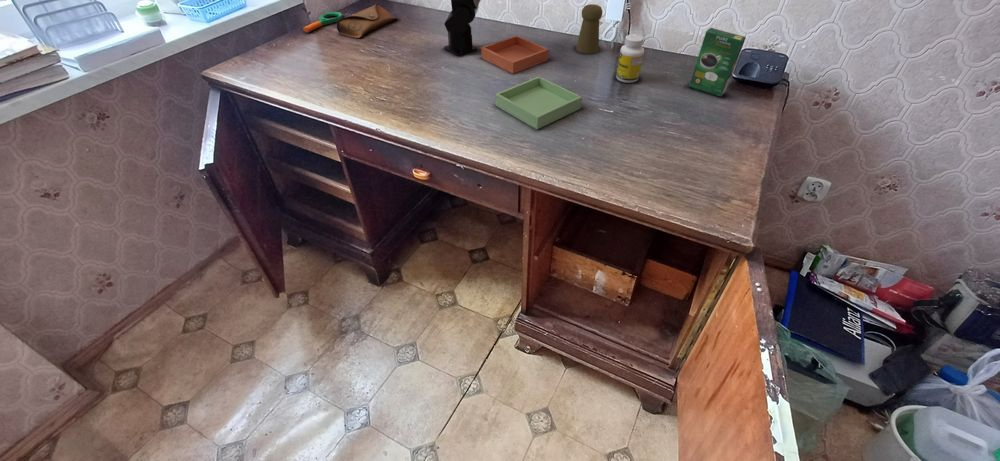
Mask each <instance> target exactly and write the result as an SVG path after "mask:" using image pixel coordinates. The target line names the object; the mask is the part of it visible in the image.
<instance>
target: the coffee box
mask: <svg viewBox="0 0 1000 461" xmlns="http://www.w3.org/2000/svg"><path fill="white" fill-rule="evenodd" d="M746 38H747V37H746V36H743V35H740V34H736V33H733V32H728V31H725V30H721V29H717V28H713V27H710V28H708V29H707V30H706V31H705V34H704V37H703V40H702V43H701V46H700V49H699V51H698V52H699V53H698V56H697V59H696V62H695V64H694V68H693V71H692V75H691V78H690V81H689V83H688V87H689V88H692V89H694V90H698V91H700V92H701V91H702V92H704V93H707V94H711V95H713V96H717V97H719V98H722V97H723V95H725V93H726V92H727V91H726V90H727V88H728V86H729V83H730V81H731V78H732V75H733V73H734V69H735V67H736V65H737V62H738V59H739V56H740V55H741V52H742V49H743V46H744V44H745V41H746Z"/></svg>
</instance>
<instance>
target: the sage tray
mask: <svg viewBox="0 0 1000 461" xmlns="http://www.w3.org/2000/svg"><path fill="white" fill-rule="evenodd" d="M582 99H583V98H582V96H581V95H579V94H577V93H575V92H573V91H571V90H568V89H567V88H564V87H562V86H560V85H558V84H556V83H554V82H553V81H550V80H548V79H546V78H544V77H541V76H536V77H534V78H530V79H529V80H526V81H524V82H522V83H519V84H516V85H514V86H511V87H509V88H507V89H504V90H501V91H499V92H497V93H495V107H496V108H499V109H501V110H502V111H504V112H506V113H508V114H509V115H510V116H513V117H514V118H516V119H518V120H520V121H521V122H523V123H525V124H526V125H528V126H530V127H532V128H533V129H535V130H539V129H541V128H544V127H546V126H547V125H550V124H551V123H554V122H556V121H558V120H560V119H562V118H565V117H566V116H569V115H570V114H573V113H575V112H578V110H581V107H582Z"/></svg>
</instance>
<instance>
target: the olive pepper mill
mask: <svg viewBox="0 0 1000 461" xmlns="http://www.w3.org/2000/svg"><path fill="white" fill-rule="evenodd" d="M602 16H603V8H602V6H600V5H598V4H594V3H593V4H591V3H590V4H589V3H588V4H586V5H584V6H583V8H582V9H581V17H582V22H581V26H580V29H579V35H578V39H577V43H576V46H575V50H576V51H577V52H579V53H582V54H589V55H591V54H595V53H599V50H600V20H601V19H602Z"/></svg>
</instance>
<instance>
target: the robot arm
mask: <svg viewBox="0 0 1000 461" xmlns="http://www.w3.org/2000/svg"><path fill="white" fill-rule="evenodd" d="M480 2H481V0H450V5H451V11H449V14H448V16H447V18H446V19H445V22H444V23H443V24H444V27H445V30H446V31H447V40H448V45H445V46H443V49H444V50H446V51H447V52H449V53H451V54H453V55H455V56H457V57H459V56H463V55H465V54H468V53H471V52H474V51H477V50H478V48H477V46H475V45H473V34H472V27H471V23H472V22H473V21H474V20H475V18H476V15H477V13H478V10H479V7H480Z"/></svg>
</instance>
